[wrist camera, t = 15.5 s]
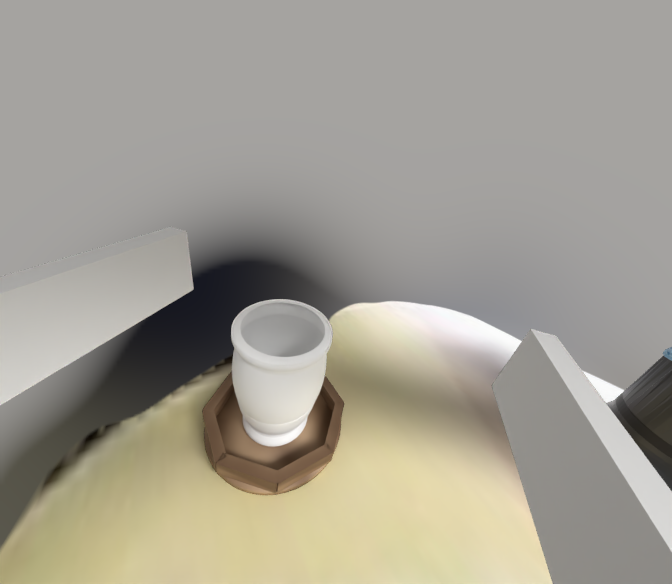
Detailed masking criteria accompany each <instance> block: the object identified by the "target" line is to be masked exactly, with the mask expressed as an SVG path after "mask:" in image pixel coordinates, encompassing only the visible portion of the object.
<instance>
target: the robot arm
mask: <svg viewBox="0 0 672 584" xmlns="http://www.w3.org/2000/svg"><path fill="white" fill-rule="evenodd" d="M193 289H194V288H193V280H192V272H191V264H190V255H189V247H188V238H187V231H184V230H180V229H177V228H173V227H168V228H165V229H161V230H158V231H155V232H151V233H148V234H144V235H141V236H137V237H134V238H130V239H127V240H124V241H120V242H117V243H113V244H110V245H107V246H103V247H100V248H97V249H93V250H90V251H86V252H83V253H79V254H76V255H73V256H69V257H66V258H62V259H59V260H55V261H52V262H49V263H45V264H42V265H38V266H35V267H32V268H28V269H25V270H21V271H18V272H15V273H11V274H8V275H4V276H1V277H0V405H2V404H3V403H5V402H7V401H8V400H10V399H12V398H13V397H15V396H16V395H18V394H20V393H22V392H23V391H25V390H27V389H28V388H30V387H32V386H33V385H35V384H37V383H38V382H40V381H42V380H43V379H45V378H47V377H48V376H50V375H52V374H53V373H55V372H57V371H58V370H60V369H62V368H63V367H65V366H67V365H68V364H70V363H72V362H73V361H75V360H77V359H78V358H80V357H82V356H83V355H85V354H87V353H88V352H90V351H92V350H93V349H95V348H97V347H98V346H100V345H101V344H103V343H105V342H107V341H108V340H110V339H112V338H113V337H115V336H117V335H118V334H120V333H122V332H123V331H125V330H127V329H128V328H130V327H132V326H133V325H135V324H137V323H138V322H140V321H142V320H143V319H145V318H147V317H148V316H150V315H152V314H153V313H155V312H157V311H158V310H160V309H161V308H163V307H165V306H167V305H168V304H170V303H172V302H173V301H175V300H177V299H178V298H180V297H182V296H183V295H185V294H187V293H188V292H190V291H192V290H193ZM663 354H664V356H663V357H662V358H661V359H659V360H658V361H657V362H656V363H655V364H654V365H653V366H652V367H650V368H649V369H648V370H647V371H646V372H645V373H644V374H643V375H642V376H640V377H639V378H638V379H637V380H636V381H635V382H634V383H633V384H632V385H630V386H629V387H628V388H627V389H626V390H625V391H624V392H623V393H622V394H621V395H620V396H618V397H617V398H616V399H615V400H613V401H611V402H608V403H605V401H604V400H603V399H602V397H601V396H600V395H599V393H598V392H597V390H596V389H595V388H594V386H593V385H592V384H591V382H590V381H589V380H588V378H587V377H586V376H585V374H584V373H583V372H582V370H581V369H580V368H579V367H578V365H577V364H576V362H575V361H574V360H573V358H572V357H571V356H570V354H569V353H568V352H567V350H566V349H565V348H564V346H563V345H562V343H561V342H560V341H559V339H558V338H557V337H556V336H554V335H551V334H547V333H544V332H540V331H537V330H533V329H530V331H529V332H528V333H527V335H526V337H525V338H524V339H523V341H522V342H521V344H520V345H519V347H518V348H517V349H516V351H515V352H514V354H513V355H512V357H511V358H510V360H509V361H508V362H507V364H506V365H505V367H504V368H503V370H502V371H501V373H500V374H499V375H498V377H497V378H496V380H495V381H494V383H493V384H492V388H493V391H494V394H495V398H496V401H497V404H498V407H499V411H500V414H501V417H502V420H503V424H504V427H505V430H506V433H507V437H508V440H509V443H510V446H511V450H512V453H513V456H514V459H515V463H516V466H517V469H518V472H519V475H520V479H521V482H522V485H523V488H524V492H525V495H526V498H527V501H528V505H529V508H530V511H531V514H532V518H533V521H534V524H535V527H536V531H537V534H538V537H539V540H540V543H541V547H542V550H543V553H544V556H545V560H546V563H547V566H548V569H549V573H550V576H551V579H552V582H553V584H672V347H671V348H668V349H666V350H665V351H664V352H663Z"/></svg>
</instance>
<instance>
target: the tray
mask: <svg viewBox="0 0 672 584" xmlns="http://www.w3.org/2000/svg"><path fill="white" fill-rule="evenodd" d="M343 407H344V401H343V400H342V399H341V397H340V396H339V394H338V393H337V392H336V390H335V389H334V387H333V386H332V385H331V383H330V382H329V380H328V379H327V377H326V376H325V377H324V381H323V384H322V387H321V390H320V392H319V395H318V397H317V399H316V400H315V403H314V405H313V408H312V410H311V411H310V413H309V415H308V418H307V422H306V425H305V427H304V429H303V431H302V432H301V434H300V435H299V436H298V437H297V438H295V439H294V440H293V441H291V442H289V443H287V444H285V445H281V446H275V447H271V446H264V445H261V444H259V443H257V442H255V441H254V440H252V439H251V438H250V437H249V436H248V434H247V433H246V431H245V429H244V426H243V415H242V413H241V410H240V408H239V404H238V400H237V397H236V394H235V390H234V386H233V379H232V371H231V372H230V374H229V375H228V376H227V378H226V379H225V380H224V382H223V383H222V384H221V386H220V387H219V388H218V390H217V391H216V392H215V394H214V395H213V396H212V398H211V399H210V400H209V402H208V403H207V404H206V406H205V407H204V408H203V411H202V412H203V420H204V424H205V428H204V439H205V447H206V452H207V455H208V458H209V460H210V462H211V464H212V466H213V468H214V469H215V471H216V472H217V474H218V475H219V476H220V477H221V478H223V479H224V480H225V481H226V482H227V483H229V484H230V485H232V486H233V487H235V488H237V489H240V490H242V491H244V492H248V493H252V494H259V495H275V494H281V493H285V492H289V491H292V490H294V489H297V488H299V487H301V486H303V485H305V484H306V483H308V482H309V481H311V480H312V479H313V478H315V477H316V476H317V475H318V474H319V473H320V472H321V471H322V470H323V469H324V468H325V466H326V465H327V464H328V463H329V462H330V461H331V459H332V456H333V454H334V451H335V449H336V447H337V444H338V440H339V436H340V430H341V416H342V411H343Z"/></svg>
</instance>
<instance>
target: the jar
mask: <svg viewBox="0 0 672 584" xmlns="http://www.w3.org/2000/svg"><path fill="white" fill-rule="evenodd" d="M332 336H333V331H332V327H331V324H330V322H329V321H328V319H327V318H326V317H325V316H324V315H323V314H322V313H321V312H320V311H318V310H317V309H315V308H314V307H312V306H310V305H307V304H305V303H302V302H298V301H293V300H285V299H275V300H267V301H262V302H258V303H255V304H253V305H251V306H249V307H247V308H245V309H244V310H242V311H241V312H240V313H239V314H238V315H237V316H236V318H235V319H234V321H233V324H232V327H231V339H232V343H233V346H234V353H233V360H232V379H233V386H234V390H235V394H236V397H237V400H238V404H239V408H240V410H241V413H242V415H243V426H244V429H245V431H246V433H247V434H248V436H249V437H250V438H251V439H252V440H254V441H255V442H257V443H259V444H261V445H264V446H271V447H275V446H281V445H285V444H287V443H289V442H291V441H293V440H294V439H295V438H297V437H298V436H299V435H300V434H301V432H302V431H303V429H304V427H305V425H306V422H307V418H308V415H309V413H310V411H311V410H312V408H313V405H314V403H315V400H316V399H317V397H318V395H319V392H320V390H321V387H322V384H323V381H324V377H325V371H326V361H327V352H328V350H329V348H330V346H331V343H332Z"/></svg>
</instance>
